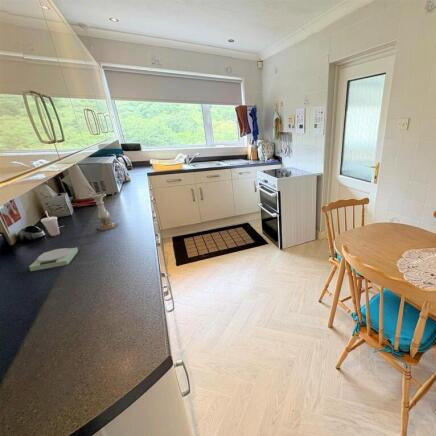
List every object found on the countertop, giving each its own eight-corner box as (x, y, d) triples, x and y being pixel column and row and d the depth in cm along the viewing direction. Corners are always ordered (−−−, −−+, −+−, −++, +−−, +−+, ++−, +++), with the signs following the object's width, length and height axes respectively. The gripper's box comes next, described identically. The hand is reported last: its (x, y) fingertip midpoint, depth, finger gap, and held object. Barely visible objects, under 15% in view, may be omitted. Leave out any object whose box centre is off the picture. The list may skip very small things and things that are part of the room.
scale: (30, 271, 96) (27, 265, 95) (45, 256, 107) (43, 251, 106) (67, 264, 101) (65, 259, 100) (78, 251, 112) (76, 245, 111)
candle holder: (110, 223, 143) (100, 192, 136) (120, 225, 140) (110, 193, 133) (95, 229, 136) (83, 195, 128) (104, 231, 133) (93, 197, 125)
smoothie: (63, 231, 133) (54, 208, 128) (62, 235, 128) (53, 211, 123) (48, 234, 129) (38, 210, 124) (46, 238, 124) (36, 214, 119)
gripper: (-6, 162, 119) (3, 184, 117) (49, 158, 133) (58, 177, 131) (-2, 170, 123) (7, 191, 121) (51, 165, 138) (60, 184, 135)
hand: (34, 184), depth 126 cm, fingers open, 8 cm apart
